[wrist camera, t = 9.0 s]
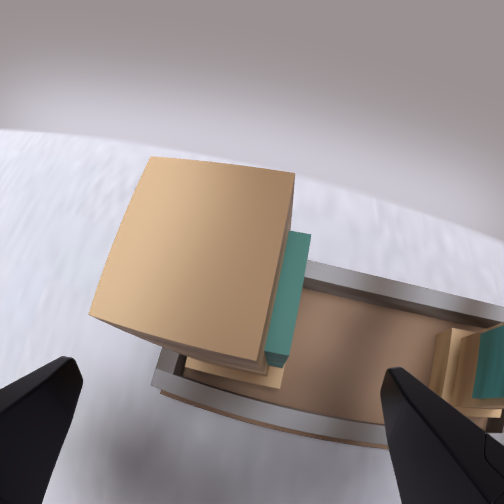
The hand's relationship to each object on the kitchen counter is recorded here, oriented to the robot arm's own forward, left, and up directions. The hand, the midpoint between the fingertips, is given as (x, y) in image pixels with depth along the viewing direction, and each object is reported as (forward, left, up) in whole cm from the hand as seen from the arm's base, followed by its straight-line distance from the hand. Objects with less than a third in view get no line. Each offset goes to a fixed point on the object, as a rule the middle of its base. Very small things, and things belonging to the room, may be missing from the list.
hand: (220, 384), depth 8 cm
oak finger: (+2, +2, -10) cm, 10 cm away
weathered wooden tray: (+5, -4, -11) cm, 13 cm away
